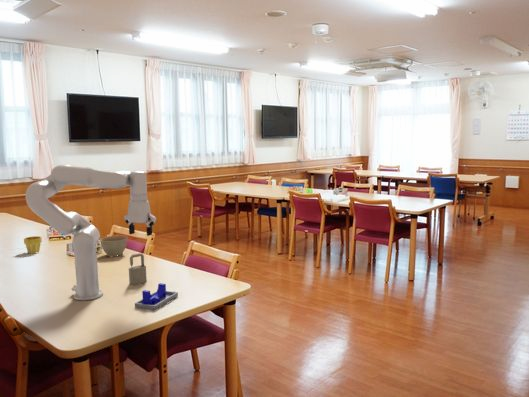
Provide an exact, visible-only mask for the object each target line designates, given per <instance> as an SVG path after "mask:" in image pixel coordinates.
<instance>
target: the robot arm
mask: <svg viewBox="0 0 529 397" xmlns="http://www.w3.org/2000/svg"><path fill="white" fill-rule="evenodd" d="M147 183H148V181H147V172H145V171H144V170H143V171H142V170H135V171H128V170H119V171H104V170H97V169H94V168H92V167H85V166H74V165H70V164H60V165H56V166H55V167H53V168H52V169H51V172H50V174H49V175H48V176H46V177H45V178H44V179H42V180H38V181H35V182H33V183H31V184H30V185H29V186H28V187H27V189H26V191H25V202H26V205H27V206H28V208H29V209H30V210H31V211H32V212H33V213H34V214H35V215H36V216H38V217H39V218H40V219H42V220H43V221H44V222H46V223H47V224H48V225H49V226H50V227H52V229H54V230H55V231H56V232H58V233H59V234H61V235H64V236H66V235H67V236H68V235H70V234H72V235H73V237H72V243H71V244H72V250H73V256H74V266H75V279H76V284H75V285H73V286H72V288H71V291H73V292H75V293H74V294H73V299H75V300H76V301H91V300H96V299H98V298H100V297H102V296H103V294H104V293H103V292H104V291H103V290H101V289H100V285H99V283H100V282H99V271H98V270H99V269H98V268H99V266H98V254H97V250H96V244H97V243H98V242H100V239H101V233H100V231H99V229H98V228H97V227H96V226H95V225H94V224H92V223H91V222H90V221H88V219H86V218H85V217H84V216H83V215H81V214H79V213H78V212H76V211H64V210H63V208H61V207H59V205H57V204H56V203H54V202H52V201H50V198H52V197H54V196H55V195H56V194H58V193H59V192H60V191H62V190H63V189H65V188H66V187H67V186H80V187H81V186H83V187H91V188H98V189H99V188H100V189H109V190H121V189H123V188H126V187H129V192H130V195H128V199H130V201H128V206H127V213H126V214H125V215H124V216H123V219H124V221H125V223H126V224H127V226H128V231H129V232H128V233H129V235H134V234H136V232H135V229H136V228H135V225H134V224H145V225H146V228H145V230H146V236H148V237H149V236H153V226H154V225H155V223H156V220H157V217H156V216H154V215H153V214H151V213H152V212H151V206H150V202H149V200H148V184H147Z"/></svg>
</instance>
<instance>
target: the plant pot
mask: <svg viewBox="0 0 529 397" xmlns="http://www.w3.org/2000/svg"><path fill="white" fill-rule="evenodd" d="M42 238H43V237H42V236H37V235H36V236H27V237H24V238H23V243H24V245H25V248H26V252H27V253H28V254H30V253H33V254H37V253H36V252H38V253H39V252H40V249H41V245H42V244H41V243H42V240H43V239H42Z"/></svg>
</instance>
